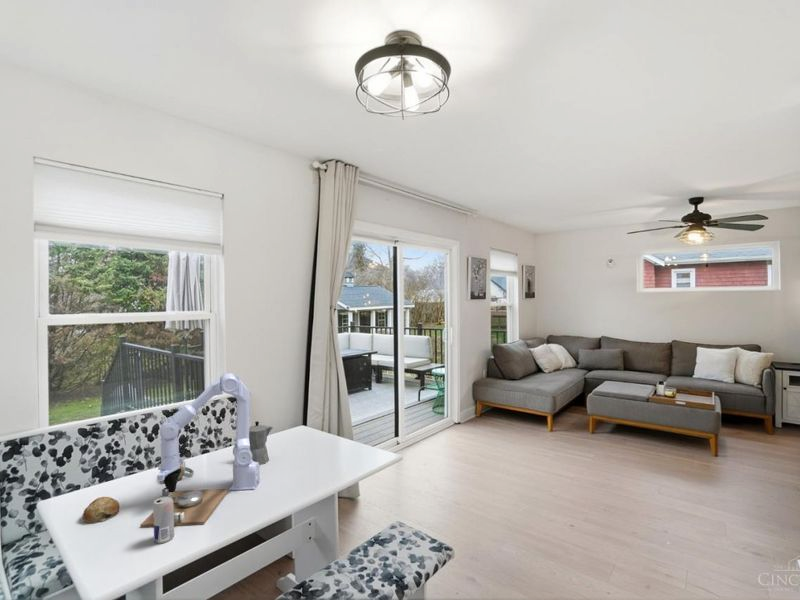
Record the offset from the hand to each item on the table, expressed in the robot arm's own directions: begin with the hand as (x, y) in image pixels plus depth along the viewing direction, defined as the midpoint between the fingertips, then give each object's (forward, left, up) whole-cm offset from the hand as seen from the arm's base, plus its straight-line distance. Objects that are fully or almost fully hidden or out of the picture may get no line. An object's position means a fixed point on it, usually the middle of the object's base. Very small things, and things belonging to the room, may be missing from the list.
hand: (171, 491), depth 151 cm
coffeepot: (-21, -33, -4) cm, 39 cm away
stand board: (-9, +6, -3) cm, 11 cm away
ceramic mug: (+7, -20, -4) cm, 22 cm away
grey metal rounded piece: (-5, +4, -2) cm, 7 cm away
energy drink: (-10, +24, -4) cm, 26 cm away
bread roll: (+20, +8, -4) cm, 22 cm away
